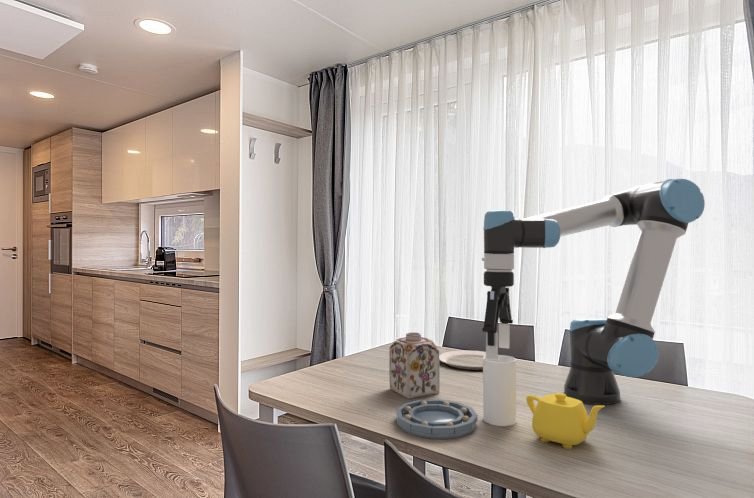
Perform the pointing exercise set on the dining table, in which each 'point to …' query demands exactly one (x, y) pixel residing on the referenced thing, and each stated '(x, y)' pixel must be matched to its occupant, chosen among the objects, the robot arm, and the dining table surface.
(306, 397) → the dining table surface
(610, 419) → the dining table surface
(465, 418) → the beads
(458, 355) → the plate
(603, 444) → the dining table surface
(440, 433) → the tray
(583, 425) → the teapot
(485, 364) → the cup
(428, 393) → the decorative jar
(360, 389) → the dining table surface
